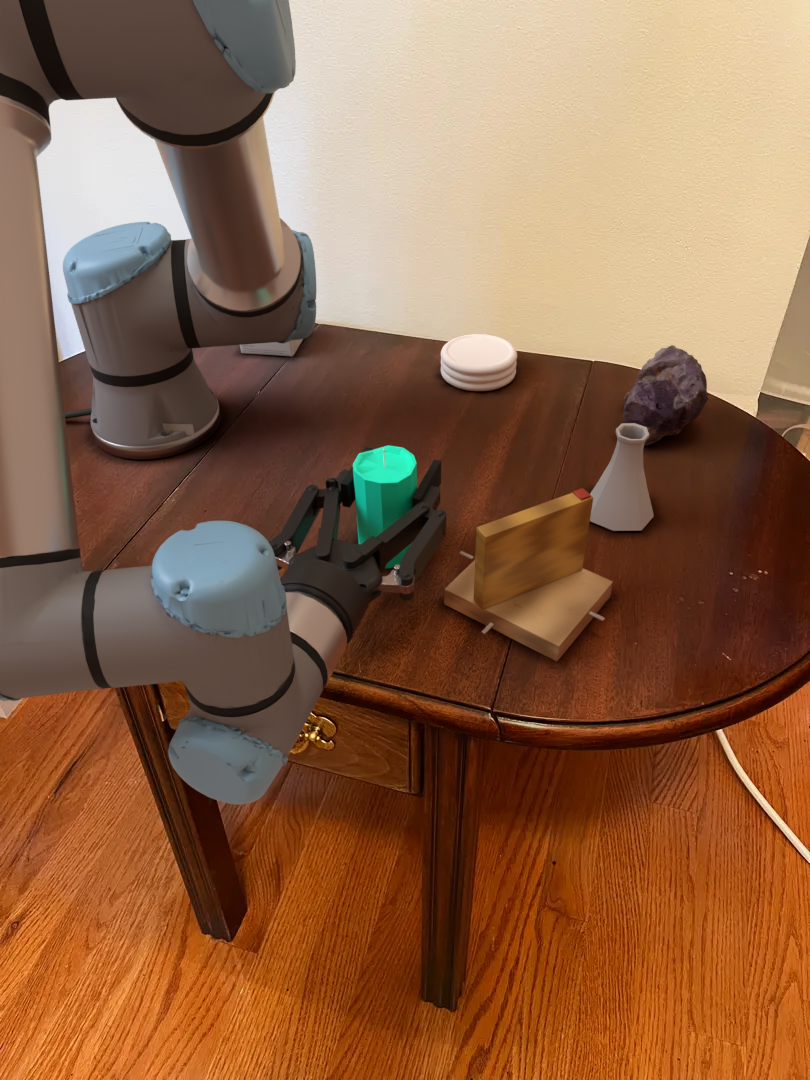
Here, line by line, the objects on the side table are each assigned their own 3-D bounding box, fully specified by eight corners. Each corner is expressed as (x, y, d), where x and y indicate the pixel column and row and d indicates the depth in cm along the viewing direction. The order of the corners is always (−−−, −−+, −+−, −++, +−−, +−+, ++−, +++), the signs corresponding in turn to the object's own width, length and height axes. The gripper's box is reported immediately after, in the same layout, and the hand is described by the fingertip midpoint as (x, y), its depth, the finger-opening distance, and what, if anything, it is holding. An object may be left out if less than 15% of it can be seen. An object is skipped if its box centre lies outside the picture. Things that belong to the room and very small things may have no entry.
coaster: (435, 358, 115) (435, 335, 112) (507, 353, 115) (508, 329, 113) (446, 395, 107) (446, 371, 105) (523, 390, 108) (525, 365, 105)
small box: (308, 332, 122) (305, 299, 118) (293, 358, 116) (288, 323, 112) (257, 329, 123) (252, 295, 119) (239, 354, 117) (233, 320, 114)
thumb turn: (482, 610, 74) (485, 534, 69) (473, 599, 76) (476, 524, 70) (582, 569, 78) (593, 495, 73) (572, 560, 79) (583, 486, 74)
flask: (657, 498, 90) (674, 418, 83) (649, 539, 84) (667, 457, 78) (589, 486, 92) (601, 407, 85) (577, 526, 86) (589, 445, 80)
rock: (605, 448, 99) (692, 465, 96) (610, 391, 93) (703, 406, 89) (629, 389, 106) (711, 402, 103) (635, 331, 100) (723, 344, 96)
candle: (420, 531, 86) (419, 432, 79) (415, 570, 82) (413, 469, 74) (363, 528, 87) (356, 430, 79) (354, 567, 82) (346, 466, 75)
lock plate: (413, 613, 77) (413, 596, 76) (502, 528, 86) (503, 512, 85) (558, 689, 70) (560, 672, 69) (638, 588, 79) (642, 571, 78)
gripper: (208, 627, 72) (317, 478, 89) (422, 683, 67) (496, 513, 83) (192, 562, 67) (311, 417, 84) (421, 616, 62) (499, 450, 79)
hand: (403, 465), depth 84 cm, fingers open, 6 cm apart
